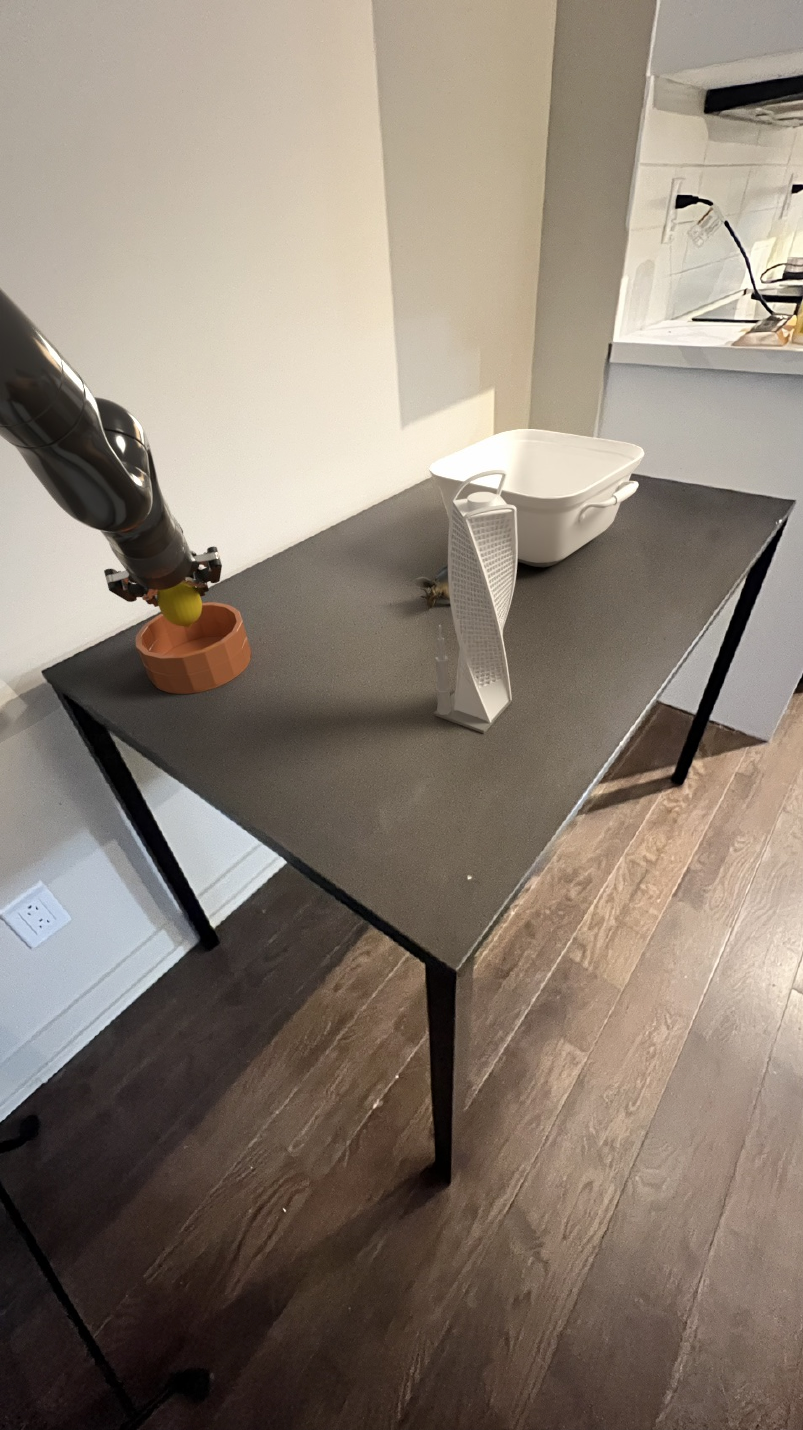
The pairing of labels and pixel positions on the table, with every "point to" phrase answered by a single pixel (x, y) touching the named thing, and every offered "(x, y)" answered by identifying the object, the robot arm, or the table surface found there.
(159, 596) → the lemon
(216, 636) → the bowl
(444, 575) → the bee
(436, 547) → the table surface
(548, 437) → the white tub with handles
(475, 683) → the white tall perforated tower
